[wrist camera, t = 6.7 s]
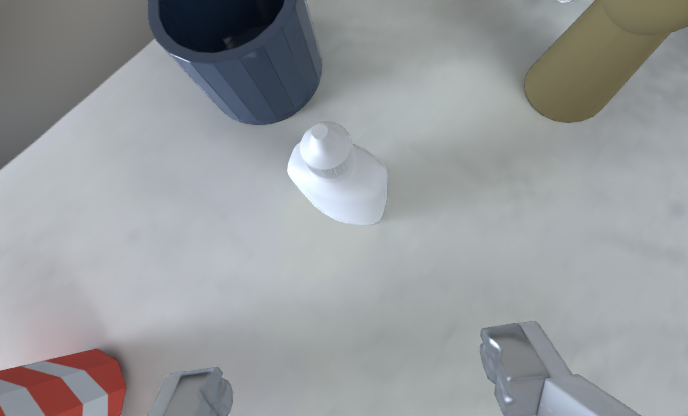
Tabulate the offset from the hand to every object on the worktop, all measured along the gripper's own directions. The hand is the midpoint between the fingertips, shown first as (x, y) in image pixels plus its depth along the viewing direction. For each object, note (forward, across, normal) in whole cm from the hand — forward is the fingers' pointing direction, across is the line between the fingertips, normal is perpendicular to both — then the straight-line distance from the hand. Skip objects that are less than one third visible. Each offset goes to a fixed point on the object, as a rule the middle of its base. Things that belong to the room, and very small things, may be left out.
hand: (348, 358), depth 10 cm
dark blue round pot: (+25, +6, -6) cm, 26 cm away
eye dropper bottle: (+16, 0, +4) cm, 16 cm away
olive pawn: (+20, -18, -1) cm, 27 cm away
